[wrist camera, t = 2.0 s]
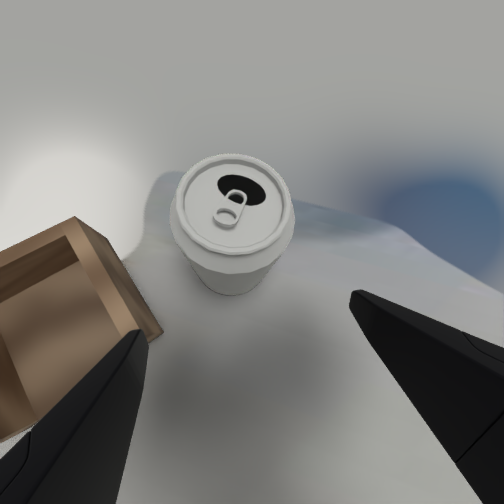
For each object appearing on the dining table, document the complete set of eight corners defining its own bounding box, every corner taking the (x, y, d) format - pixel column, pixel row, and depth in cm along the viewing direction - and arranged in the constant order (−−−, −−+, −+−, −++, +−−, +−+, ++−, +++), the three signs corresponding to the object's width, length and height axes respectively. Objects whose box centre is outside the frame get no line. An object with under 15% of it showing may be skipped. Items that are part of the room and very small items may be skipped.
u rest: (163, 332, 19) (143, 335, 15) (29, 427, 16) (-50, 469, 11) (107, 238, 21) (74, 216, 17) (-20, 306, 18) (-102, 300, 14)
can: (275, 244, 23) (320, 170, 12) (251, 308, 21) (278, 291, 9) (214, 219, 23) (201, 123, 12) (183, 279, 21) (128, 228, 10)
